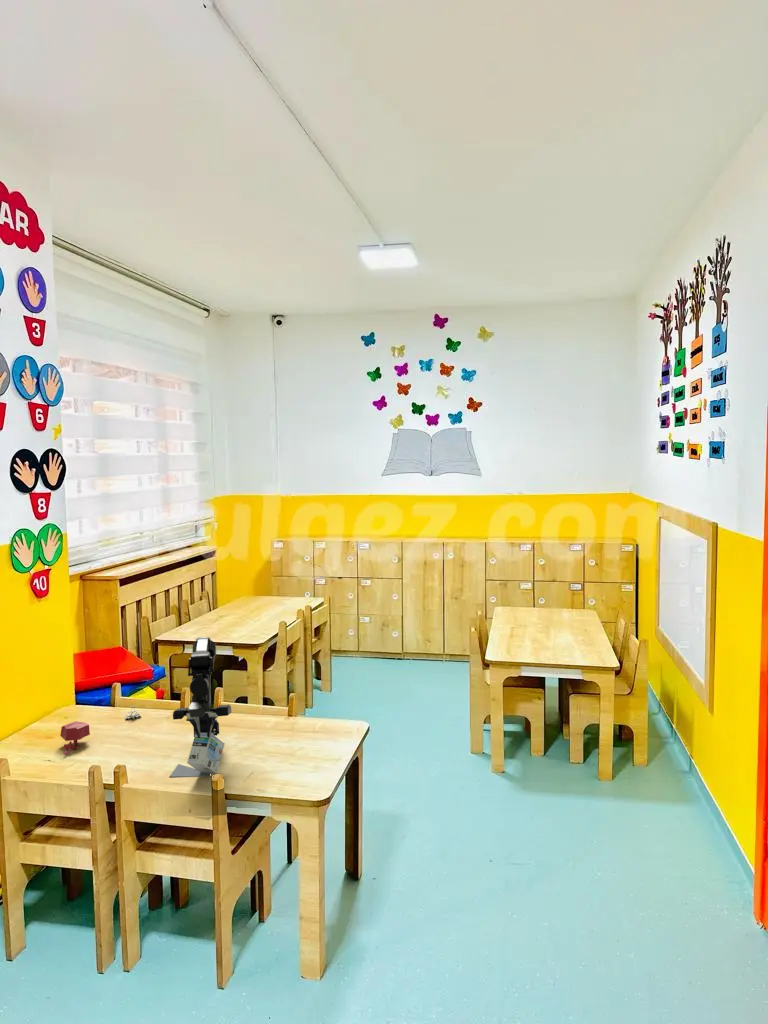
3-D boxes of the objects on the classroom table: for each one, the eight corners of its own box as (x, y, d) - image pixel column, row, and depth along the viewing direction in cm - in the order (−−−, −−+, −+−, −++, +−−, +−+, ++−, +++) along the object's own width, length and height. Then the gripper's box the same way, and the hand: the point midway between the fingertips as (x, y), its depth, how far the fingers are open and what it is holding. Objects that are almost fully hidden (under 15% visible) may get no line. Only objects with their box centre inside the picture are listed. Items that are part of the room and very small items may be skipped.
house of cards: (144, 715, 318) (144, 698, 318) (146, 721, 310) (146, 703, 310) (122, 718, 315) (122, 700, 314) (124, 724, 307) (123, 706, 306)
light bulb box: (203, 764, 245) (212, 732, 251) (185, 763, 247) (195, 731, 253) (217, 774, 254) (225, 743, 260) (199, 772, 256) (208, 741, 261)
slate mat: (178, 765, 263) (178, 763, 263) (234, 764, 263) (234, 763, 263) (169, 777, 252) (169, 776, 252) (227, 777, 252) (227, 776, 252)
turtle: (105, 745, 284) (104, 722, 284) (63, 764, 266) (63, 740, 265) (76, 740, 290) (75, 717, 290) (33, 758, 272) (32, 734, 271)
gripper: (166, 697, 244) (169, 745, 242) (223, 693, 243) (225, 741, 242) (176, 691, 255) (179, 737, 254) (230, 687, 255) (233, 733, 253)
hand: (203, 737), depth 250 cm, fingers open, 3 cm apart
